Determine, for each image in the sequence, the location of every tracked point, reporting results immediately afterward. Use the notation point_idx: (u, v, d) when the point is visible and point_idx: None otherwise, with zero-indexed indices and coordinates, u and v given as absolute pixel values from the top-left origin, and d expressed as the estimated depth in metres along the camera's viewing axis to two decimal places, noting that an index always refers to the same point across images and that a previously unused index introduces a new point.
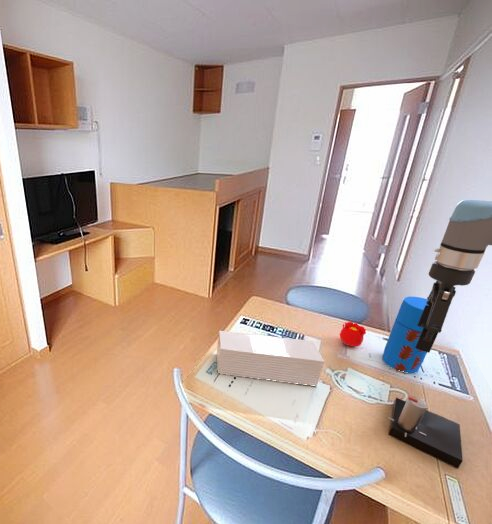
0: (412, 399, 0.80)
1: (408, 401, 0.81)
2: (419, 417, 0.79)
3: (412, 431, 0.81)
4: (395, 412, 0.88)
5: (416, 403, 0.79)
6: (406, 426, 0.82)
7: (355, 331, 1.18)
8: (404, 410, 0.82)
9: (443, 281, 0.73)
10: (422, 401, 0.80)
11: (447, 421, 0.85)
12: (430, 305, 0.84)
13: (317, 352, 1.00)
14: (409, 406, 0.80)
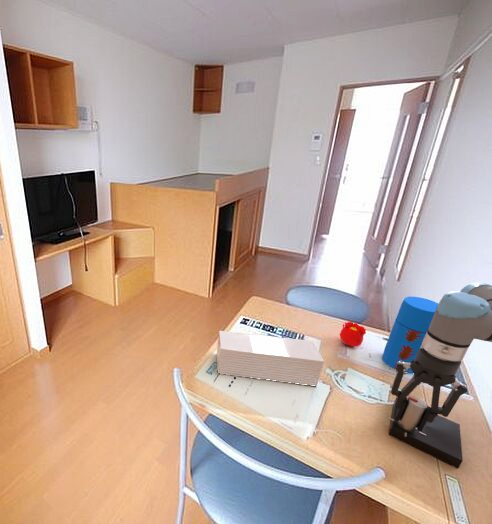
0: (412, 399, 0.80)
1: (408, 401, 0.81)
2: (419, 417, 0.79)
3: (412, 431, 0.81)
4: (395, 412, 0.88)
5: (416, 403, 0.79)
6: (406, 426, 0.82)
7: (355, 331, 1.18)
8: (404, 410, 0.82)
9: (455, 373, 0.72)
10: (422, 401, 0.80)
11: (447, 421, 0.85)
12: (405, 398, 0.81)
13: (317, 352, 1.00)
14: (409, 406, 0.80)
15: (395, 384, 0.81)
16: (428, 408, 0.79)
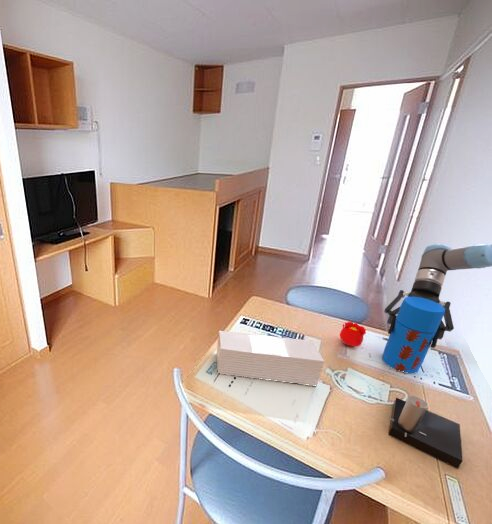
0: (419, 404, 0.79)
1: (422, 409, 0.78)
2: None
3: None
4: (395, 412, 0.88)
5: (423, 404, 0.79)
6: (417, 426, 0.82)
7: (355, 331, 1.18)
8: (417, 418, 0.80)
9: (439, 294, 1.06)
10: (412, 397, 0.81)
11: (447, 421, 0.85)
12: None
13: (317, 352, 1.00)
14: (424, 411, 0.79)
15: (391, 303, 1.11)
16: None
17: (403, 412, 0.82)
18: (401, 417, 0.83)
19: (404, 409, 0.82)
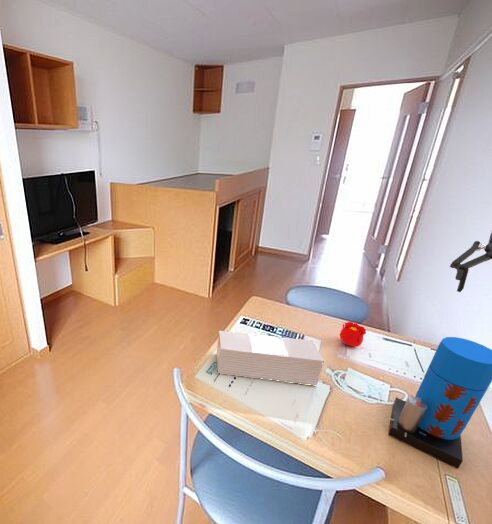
0: (419, 404, 0.79)
1: (422, 409, 0.78)
2: None
3: None
4: (395, 412, 0.88)
5: (423, 404, 0.79)
6: (417, 426, 0.82)
7: (355, 331, 1.18)
8: (417, 418, 0.80)
9: None
10: (412, 397, 0.81)
11: None
12: None
13: (317, 352, 1.00)
14: (424, 411, 0.79)
15: (462, 255, 0.90)
16: None
17: (403, 412, 0.82)
18: (401, 417, 0.83)
19: (404, 409, 0.82)
